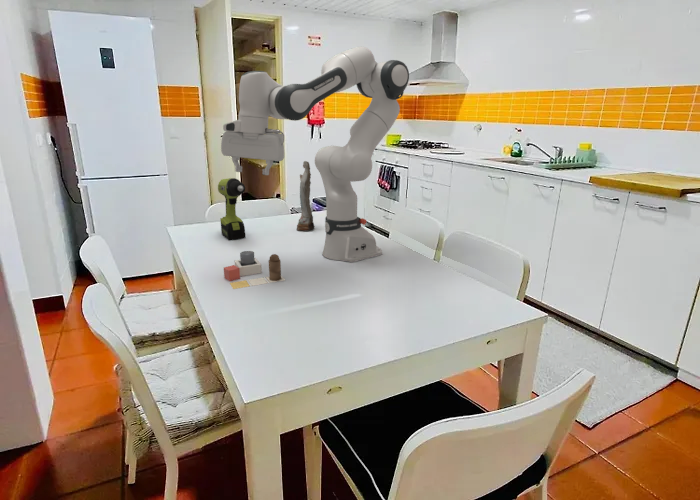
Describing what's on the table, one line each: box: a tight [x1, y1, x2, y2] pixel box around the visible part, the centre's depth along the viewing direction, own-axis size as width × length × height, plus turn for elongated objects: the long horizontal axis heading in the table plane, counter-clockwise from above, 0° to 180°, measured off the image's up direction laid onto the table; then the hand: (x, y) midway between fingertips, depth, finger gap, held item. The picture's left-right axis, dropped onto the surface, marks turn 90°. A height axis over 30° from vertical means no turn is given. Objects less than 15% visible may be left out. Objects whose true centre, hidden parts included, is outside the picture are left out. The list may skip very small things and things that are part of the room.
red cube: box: [223, 264, 241, 282], centre depth 131 cm, size 4×4×4 cm
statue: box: [296, 160, 315, 232], centre depth 184 cm, size 8×7×30 cm
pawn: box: [268, 253, 282, 281], centre depth 130 cm, size 4×4×8 cm
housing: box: [233, 257, 263, 277], centre depth 137 cm, size 7×7×3 cm
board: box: [229, 275, 286, 290], centre depth 134 cm, size 17×20×1 cm
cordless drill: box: [217, 177, 247, 241], centre depth 170 cm, size 23×7×25 cm, turn 32°
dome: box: [239, 250, 255, 266], centre depth 136 cm, size 4×4×4 cm
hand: (252, 173), depth 132 cm, fingers open, 8 cm apart
